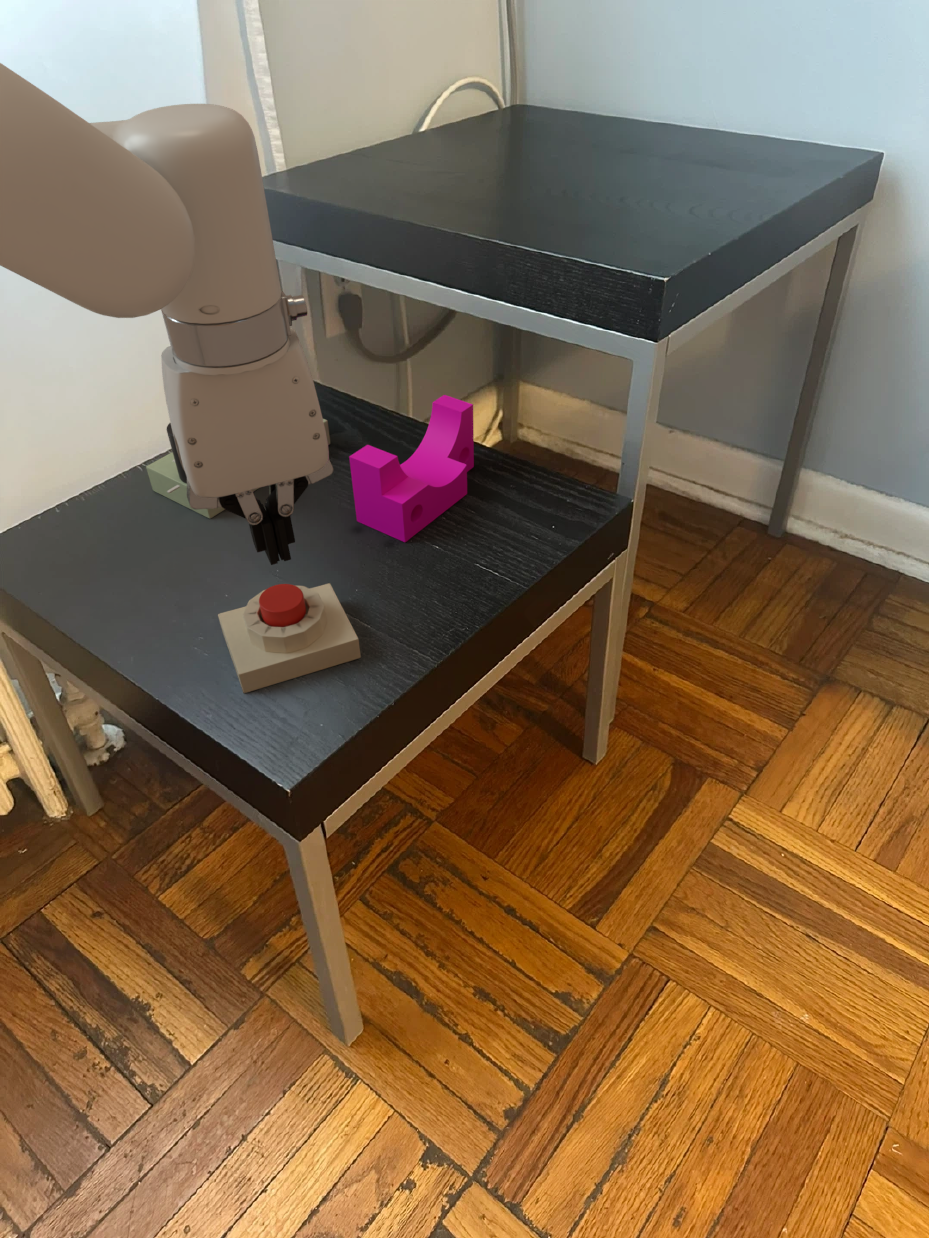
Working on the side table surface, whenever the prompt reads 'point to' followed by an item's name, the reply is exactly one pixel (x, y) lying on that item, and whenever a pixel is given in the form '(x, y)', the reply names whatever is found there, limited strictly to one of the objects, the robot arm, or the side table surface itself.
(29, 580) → the side table surface
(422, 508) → the toy block
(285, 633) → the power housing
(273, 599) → the power button
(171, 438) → the timer dial
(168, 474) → the dial panel
